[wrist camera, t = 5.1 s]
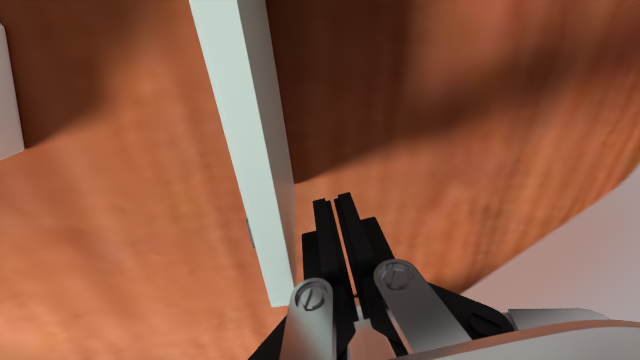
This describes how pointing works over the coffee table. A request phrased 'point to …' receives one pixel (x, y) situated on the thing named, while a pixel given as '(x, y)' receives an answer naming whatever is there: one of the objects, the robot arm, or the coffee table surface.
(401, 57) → the coffee table surface
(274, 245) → the side door
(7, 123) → the white square bottle
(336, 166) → the coffee table surface
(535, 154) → the coffee table surface
